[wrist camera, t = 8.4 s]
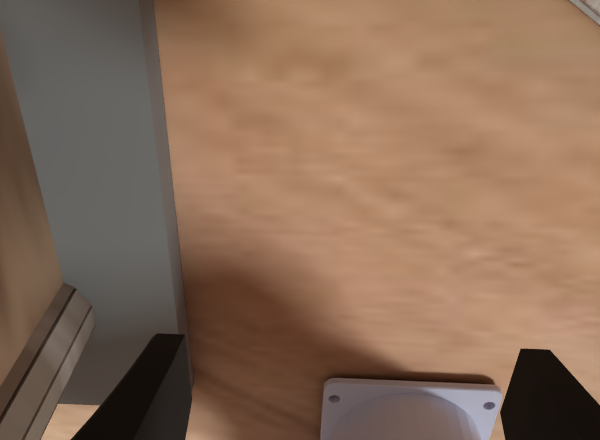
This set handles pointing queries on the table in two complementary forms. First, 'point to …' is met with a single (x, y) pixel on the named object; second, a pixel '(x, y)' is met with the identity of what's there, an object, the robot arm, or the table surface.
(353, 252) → the table surface
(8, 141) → the door
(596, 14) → the wrench
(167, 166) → the hinge board
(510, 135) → the table surface
